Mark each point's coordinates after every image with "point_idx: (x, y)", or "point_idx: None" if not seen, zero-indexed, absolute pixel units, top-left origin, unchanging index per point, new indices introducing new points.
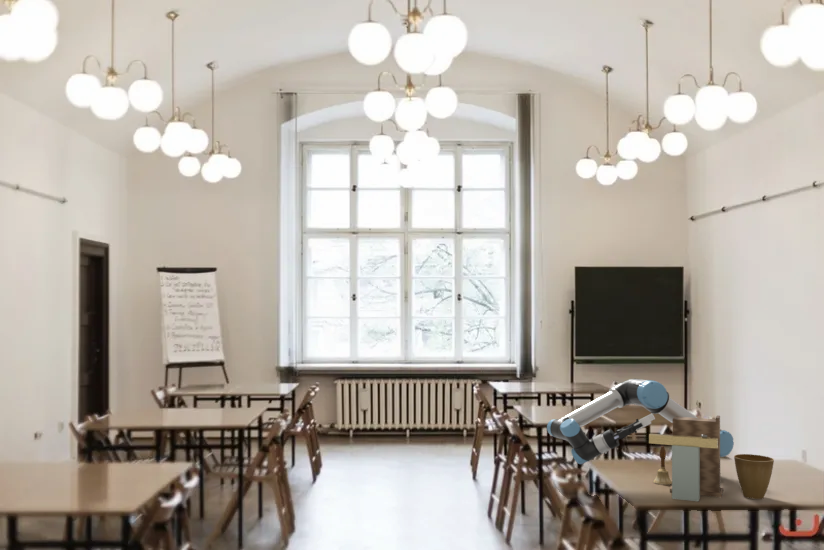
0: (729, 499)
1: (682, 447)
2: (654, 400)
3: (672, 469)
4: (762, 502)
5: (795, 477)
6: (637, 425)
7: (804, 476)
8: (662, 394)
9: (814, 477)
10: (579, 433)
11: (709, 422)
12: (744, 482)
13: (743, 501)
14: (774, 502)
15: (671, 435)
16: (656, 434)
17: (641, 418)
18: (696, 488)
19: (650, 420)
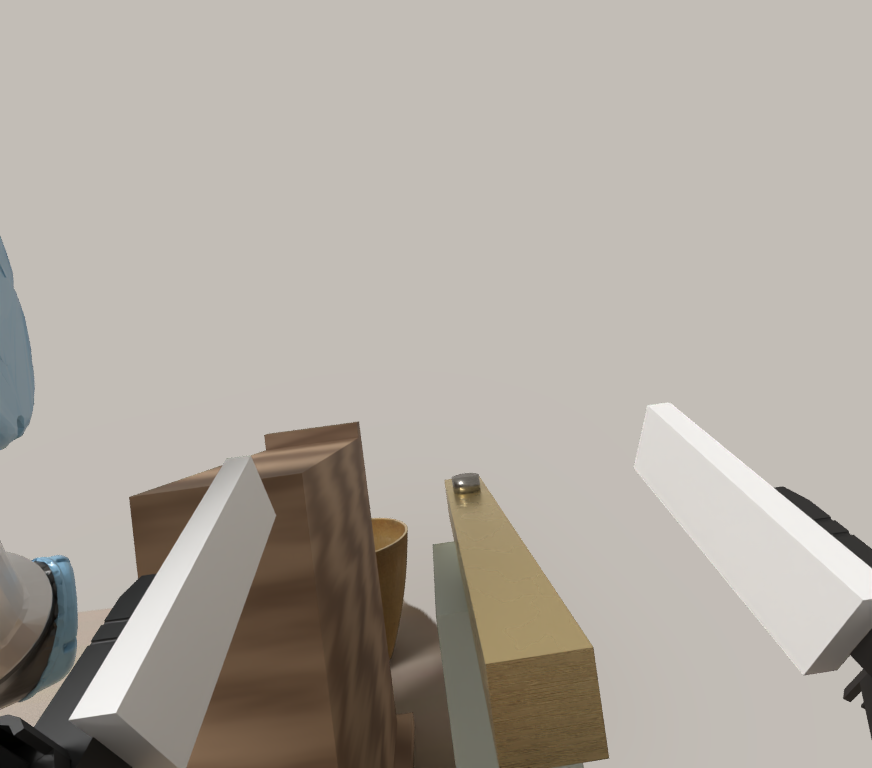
0: (434, 700)
1: None
2: None
3: (582, 764)
4: (428, 632)
5: (84, 635)
6: (855, 547)
7: (78, 625)
8: (9, 299)
9: (100, 612)
10: None
11: (354, 445)
12: (392, 617)
13: (442, 665)
14: (414, 616)
15: (485, 548)
16: (514, 608)
17: (135, 622)
18: None
19: (251, 562)
